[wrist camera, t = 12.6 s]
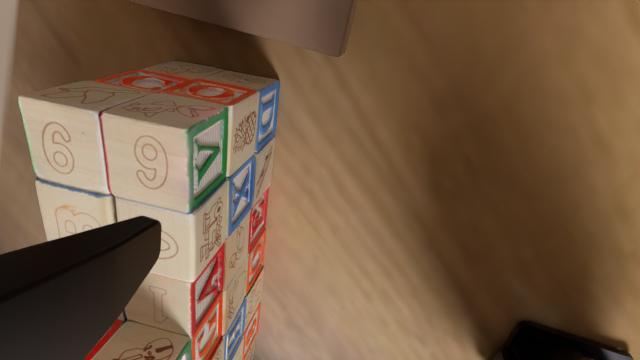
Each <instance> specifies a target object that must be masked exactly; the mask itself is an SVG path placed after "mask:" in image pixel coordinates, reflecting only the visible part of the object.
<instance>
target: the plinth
mask: <svg viewBox="0 0 640 360" xmlns="http://www.w3.org/2000/svg"><path fill="white" fill-rule="evenodd" d="M130 2H134V3H137V4H141V5H145V6H148V7H152V8H156V9H160V10H163V11H167V12H171V13H175V14H178V15H182V16H186V17H189V18H193V19H197V20H201V21H204V22H208V23H212V24H216V25H219V26H223V27H227V28H230V29H234V30H238V31H242V32H245V33H249V34H253V35H257V36H260V37H264V38H268V39H271V40H275V41H279V42H283V43H286V44H290V45H294V46H298V47H301V48H305V49H309V50H312V51H316V52H320V53H324V54H327V55H331V56H335V57H339V56H341V55H342V54H343V53H345V49H346V45H347V41H348V37H349V33H350V29H351V25H352V21H353V16H354V12H355V8H356V4H357V0H130Z"/></svg>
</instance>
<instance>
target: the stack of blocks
mask: <svg viewBox="0 0 640 360" xmlns="http://www.w3.org/2000/svg"><path fill="white" fill-rule="evenodd" d="M279 88H280V81H279V80H277V79H271V78H265V77H260V76H254V75H249V74H244V73H239V72H233V71H226V70H223V69H219V68H214V67H209V66H204V65H198V64H192V63H186V62H178V61H171V62H166V63H161V64H158V65H154V66H151V67H147V68H143V69H133V70H130V71H126V72H122V73H118V74H114V75H110V76H106V77H103V78H99V79H96V80H93V81H79V82H75V83H70V84H66V85H62V86H57V87H53V88H48V89H44V90H39V91H35V92H31V93H27V94H23V95H20V96H19V97H18V105H19V108H20V112H21V116H22V120H23V124H24V129H25V133H26V137H27V142H28V147H29V152H30V156H31V160H32V165H33V170H34V172H35V173H36V175H37V176H38V177H37V178H36V180H35V186H36V191H37V195H38V200H39V205H40V209H41V214H42V218H43V223H44V227H45V232H46V237H47V240H48V241H51V240H55V239H58V238H62V237H65V236H69V235H73V234H76V233H80V232H84V231H87V230H91V229H94V228H98V227H102V226H105V225H109V224H112V223H116V222H120V221H123V220H127V219H130V218H134V217H138V216H147V217H150V218H153V219H156V220H159V221H160V223H161V226H162V231H161V251H160V255H159V258H158V260H157V262H156V263H155V265H154V266H153V268H152V269H151V271H150V272H149V274H148V275H147V277H146V278H145V280H144V281H143V282H142V284H141V285H140V287H139V288H138V290H137V291H136V293H135V294H134V296H133V297H132V299H131V300H130V302H129V303H128V305H127V306H126V308H125V309H124V310H123V312H122V313H121V315H120V316H119V317H118V319H117V320H116V321H115V323H114V324H113V325H112V326H111V328H110V329H109V330H108V331H107V332H106V334H105V335H104V336H103V337H102V338H101V340H100V341H99V342H98V343H97V344H96V345H95V347H94V348H93V349H92V350H91V351H90V353H89V354H88V355H87V356H86V357H85V359H84V360H254V351H255V342H256V334H257V331H258V323H259V313H260V303H261V302H260V301H261V294H262V285H263V274H264V267H263V255H264V245H265V234H266V228H265V224H266V215H267V202H268V192H269V186H270V184H271V180H272V169H273V159H274V149H275V130H276V122H277V111H278V99H279Z"/></svg>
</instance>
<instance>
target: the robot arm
mask: <svg viewBox="0 0 640 360" xmlns="http://www.w3.org/2000/svg"><path fill="white" fill-rule="evenodd" d="M161 231H162V226H161V223H160V221H159V220H156V219H153V218H150V217H147V216H138V217H134V218H130V219H127V220H123V221H120V222H116V223H112V224H109V225H105V226H102V227H98V228H94V229H91V230H87V231H84V232H80V233H76V234H73V235H69V236H65V237H62V238H58V239H55V240H51V241H47V242H44V243H40V244H36V245H33V246H29V247H26V248H22V249H18V250H15V251H11V252H8V253H4V254H0V360H84V359H85V357H86V356H87V355H88V354H89V353H90V351H91V350H92V349H93V348H94V347H95V345H96V344H97V343H98V342H99V341H100V340H101V338H102V337H103V336H104V335H105V334H106V332H107V331H108V330H109V329H110V328H111V326H112V325H113V324H114V323H115V321H116V320H117V319H118V317H119V316H120V315H121V313H122V312H123V310H124V309H125V308H126V306H127V305H128V303H129V302H130V300H131V299H132V297H133V296H134V294H135V293H136V291H137V290H138V288H139V287H140V285H141V284H142V282H143V281H144V280H145V278H146V277H147V275H148V274H149V272H150V271H151V269H152V268H153V266H154V265H155V263H156V262H157V260H158V258H159V255H160V251H161ZM525 329H529V330H525ZM493 360H634V359H633V357H632V356H631V355H630V353H628V352H625V351H622V350H619V349H616V348H613V347H609V346H606V345H603V344H600V343H597V342H594V341H591V340H587V339H584V338H581V337H578V336H575V335H572V334H568V333H565V332H562V331H559V330H556V329H553V328H550V327H546V326H543V325H540V324H537V323H534V322H531V321H521V322H519V323H518V324H517V325H516V327H515V328H514V330H513V332H512V333H511V335H510V336H509V338H508V339H507V341H506V343H505V344H504V346H503V347H501V348H500V349H499V350H498V352H497V353H496V355H495V356H494V358H493Z"/></svg>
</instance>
